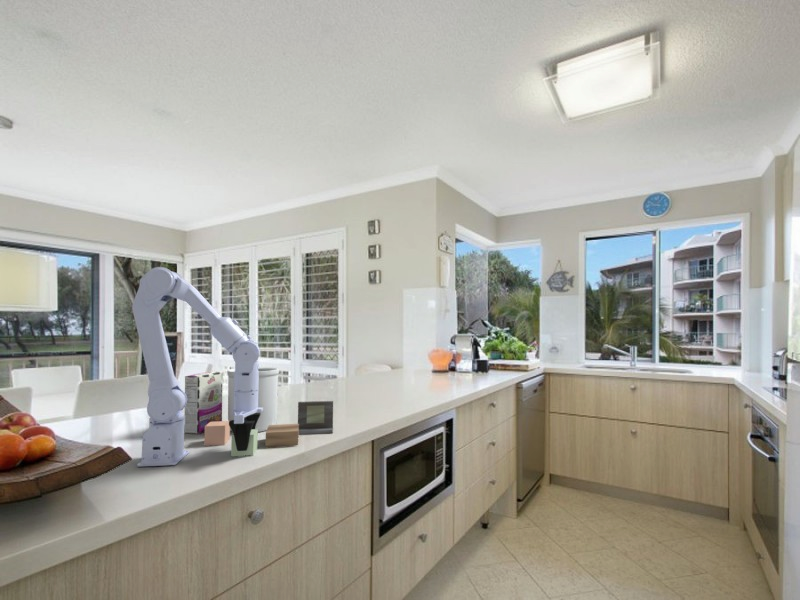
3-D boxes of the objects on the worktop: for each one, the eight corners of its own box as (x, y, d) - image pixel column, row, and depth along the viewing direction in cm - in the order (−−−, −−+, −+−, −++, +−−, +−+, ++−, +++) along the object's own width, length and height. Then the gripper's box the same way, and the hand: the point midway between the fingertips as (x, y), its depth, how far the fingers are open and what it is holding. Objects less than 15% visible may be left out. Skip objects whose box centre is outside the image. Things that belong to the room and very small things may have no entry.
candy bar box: (208, 424, 128) (209, 370, 129) (222, 425, 127) (223, 371, 128) (182, 433, 117) (184, 375, 118) (197, 434, 116) (199, 375, 117)
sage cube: (253, 455, 98) (253, 434, 98) (231, 456, 97) (231, 435, 98) (257, 449, 103) (257, 429, 103) (236, 450, 102) (236, 429, 102)
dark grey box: (332, 433, 118) (333, 403, 119) (296, 434, 117) (297, 404, 117) (332, 428, 124) (333, 399, 124) (298, 429, 122) (299, 400, 123)
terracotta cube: (224, 445, 106) (225, 425, 107) (204, 446, 106) (204, 426, 106) (229, 439, 111) (230, 421, 112) (210, 440, 111) (210, 421, 111)
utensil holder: (217, 427, 124) (219, 368, 125) (263, 419, 135) (265, 365, 136) (238, 437, 114) (240, 373, 115) (287, 427, 124) (288, 369, 125)
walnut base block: (297, 446, 106) (298, 431, 106) (265, 448, 104) (265, 432, 105) (298, 438, 114) (298, 423, 114) (268, 440, 112) (268, 425, 112)
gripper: (257, 395, 94) (256, 455, 94) (267, 385, 109) (266, 437, 108) (225, 395, 93) (223, 457, 93) (239, 386, 108) (238, 438, 107)
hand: (244, 446), depth 100 cm, fingers closed on sage cube, 5 cm apart
